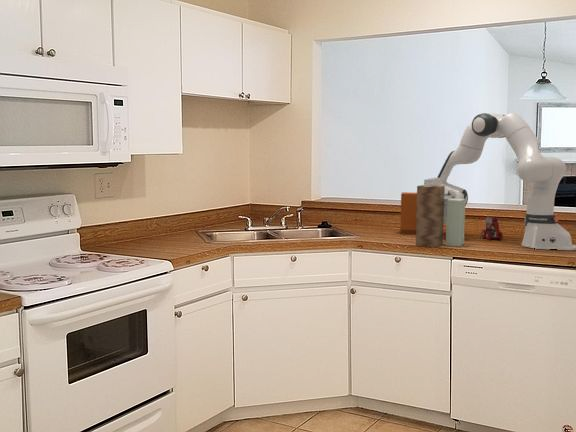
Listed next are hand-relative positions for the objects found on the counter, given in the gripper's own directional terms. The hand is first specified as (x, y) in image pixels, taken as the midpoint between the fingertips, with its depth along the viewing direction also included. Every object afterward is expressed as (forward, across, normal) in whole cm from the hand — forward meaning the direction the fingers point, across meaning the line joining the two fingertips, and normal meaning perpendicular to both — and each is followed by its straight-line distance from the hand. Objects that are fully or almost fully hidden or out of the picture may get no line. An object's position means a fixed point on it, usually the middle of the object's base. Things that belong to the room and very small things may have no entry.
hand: (439, 191), depth 313 cm
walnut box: (+2, 0, +28) cm, 28 cm away
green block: (-3, +10, +25) cm, 27 cm away
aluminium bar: (+12, 0, +3) cm, 13 cm away
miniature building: (-28, -18, +10) cm, 35 cm away
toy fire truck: (-26, +22, +12) cm, 36 cm away
